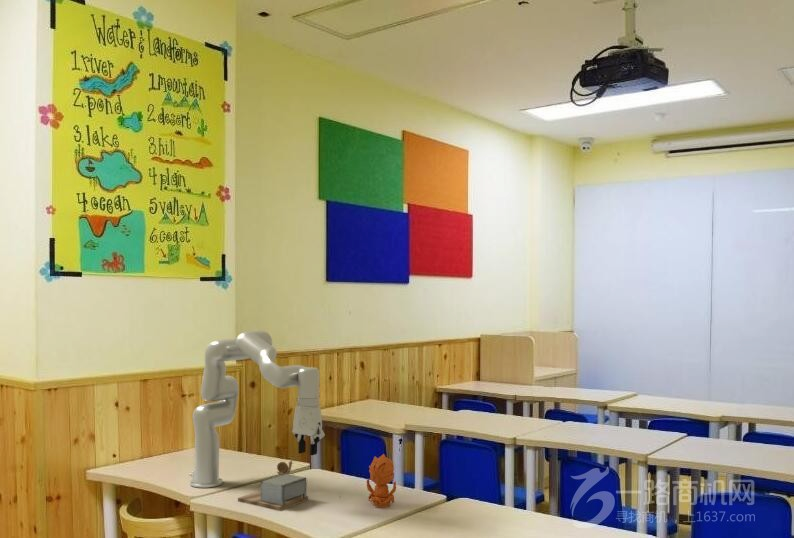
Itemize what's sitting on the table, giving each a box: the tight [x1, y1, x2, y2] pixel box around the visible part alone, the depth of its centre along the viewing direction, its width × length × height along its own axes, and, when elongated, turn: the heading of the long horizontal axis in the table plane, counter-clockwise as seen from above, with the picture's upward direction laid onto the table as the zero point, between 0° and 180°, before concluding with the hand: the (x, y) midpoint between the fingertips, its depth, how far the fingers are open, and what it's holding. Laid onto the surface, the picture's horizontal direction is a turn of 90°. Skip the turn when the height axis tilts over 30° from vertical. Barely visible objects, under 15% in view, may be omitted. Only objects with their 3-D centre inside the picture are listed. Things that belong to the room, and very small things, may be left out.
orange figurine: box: [366, 453, 397, 509], centre depth 266 cm, size 11×11×18 cm
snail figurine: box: [276, 458, 293, 476], centre depth 285 cm, size 5×6×12 cm
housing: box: [260, 473, 307, 506], centre depth 267 cm, size 10×13×7 cm
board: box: [237, 489, 309, 511], centre depth 270 cm, size 20×16×2 cm
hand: (307, 453), depth 262 cm, fingers open, 4 cm apart
